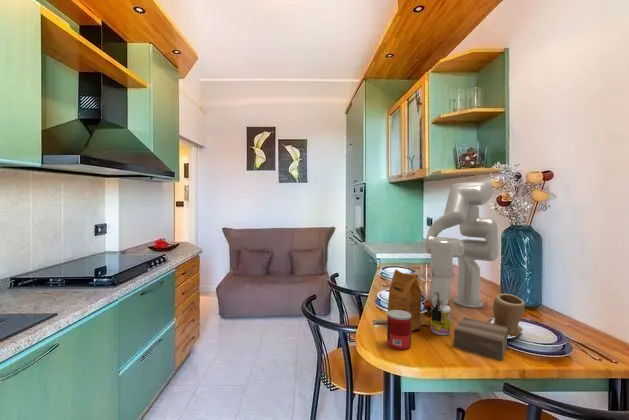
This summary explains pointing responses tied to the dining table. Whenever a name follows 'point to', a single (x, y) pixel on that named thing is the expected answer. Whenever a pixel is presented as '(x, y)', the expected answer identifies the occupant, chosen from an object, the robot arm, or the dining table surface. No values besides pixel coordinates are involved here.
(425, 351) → the dining table surface
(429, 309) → the pomegranate
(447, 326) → the supplement bottle
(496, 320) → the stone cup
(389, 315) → the canned food
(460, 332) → the block
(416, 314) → the coffee package
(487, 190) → the robot arm
